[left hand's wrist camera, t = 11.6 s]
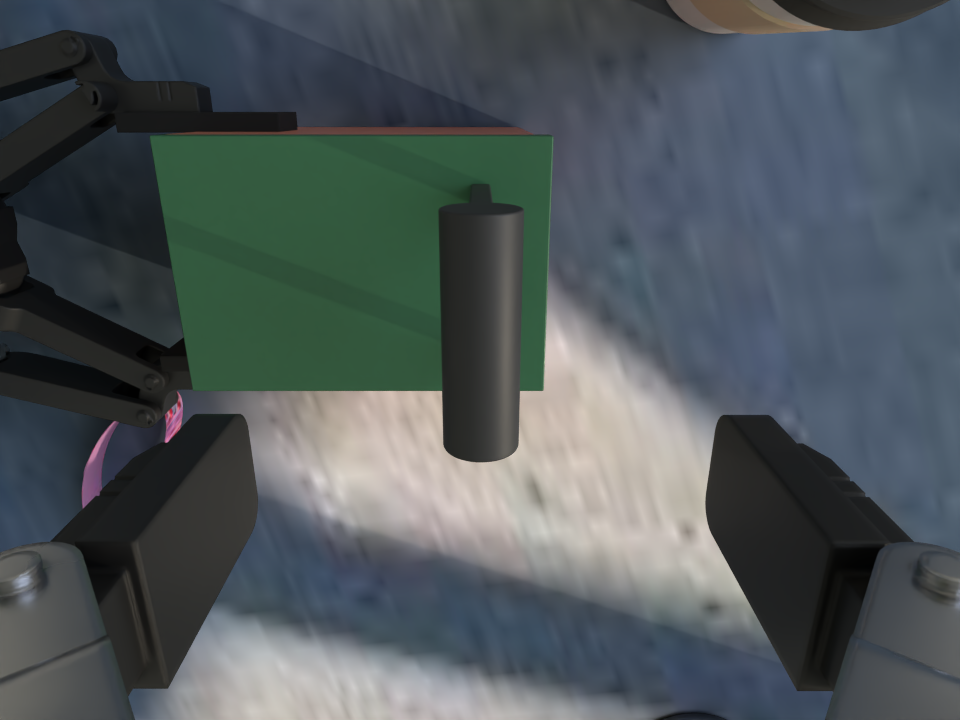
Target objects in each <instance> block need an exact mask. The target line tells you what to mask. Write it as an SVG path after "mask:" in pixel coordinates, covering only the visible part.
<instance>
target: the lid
mask: <svg viewBox="0 0 960 720" xmlns="http://www.w3.org/2000/svg"><path fill="white" fill-rule="evenodd" d="M150 142H151V148H152V154H153V160H154V166H155V172H156V177H157V183H158V189H159V195H160V201H161V207H162V213H163V218H164V224H165V230H166V236H167V242H168V248H169V254H170V259H171V265H172V271H173V277H174V283H175V289H176V295H177V300H178V306H179V312H180V318H181V324H182V330H183V336H184V341H185V347H186V353H187V359H188V365H189V371H190V377H191V382H192V388H193V391H442V401H443V445H444V448H445V449H446V451H447V452H448V453H449V454H450V455H452V456H454V457H456V458H458V459H461V460H465V461H470V462H492V461H497V460H501V459H504V458H506V457H508V456H510V455H511V454H513V453H514V452H515V451H516V449H517V447H518V440H519V400H520V391H543V390H544V367H545V341H546V316H547V290H548V264H549V239H550V213H551V187H552V162H553V136H551V135H382V134H162V135H151V136H150Z"/></svg>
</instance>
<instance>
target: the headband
mask: <svg viewBox="0 0 960 720" xmlns="http://www.w3.org/2000/svg"><path fill="white" fill-rule="evenodd" d="M177 393H178V392H177ZM178 397H179V399H178V402H177V403H176V404H175V405H174V406H173V407H172V408H171V409H170V410H169V411H168V412H167V413H166V414H165V418H166V436H165V442H168V441H169V440H170V439H171V438H172V437H173V436H174V435H175V434H176V433H177V432H178V431H179V430H180V427H181V422H182V414H183V403H182V399H181V396H180V394H179V393H178ZM118 423H119V422H116V421H114V422H113V423H112V424H111V425H110V426H109V427H108V428H107V429H106V431H105V432H104V433H103V434H102V436H101V437H100V439H99V440H98V442H97V443H96V445H95V447H94V449H93V451H92V453H91V455H90V458H89V460H88V461H87V464H86V466H85V470H84V478H83V485H82V506H83V508H84V507H85V506H86V505H87V504H88V503H89V502H90V501H91V500H92V499H93V498H94V497H95V496H99V495H100V491H101V490H102V479H101V476H102V464H103V459H104V455H105V451H106V448H107V445H108V442H109V440H110V438H111V435H112V433H113V432H114V430H115V428H116V426H117V425H118Z"/></svg>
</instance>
